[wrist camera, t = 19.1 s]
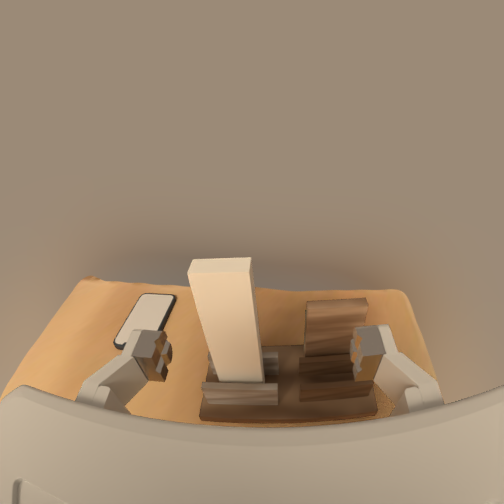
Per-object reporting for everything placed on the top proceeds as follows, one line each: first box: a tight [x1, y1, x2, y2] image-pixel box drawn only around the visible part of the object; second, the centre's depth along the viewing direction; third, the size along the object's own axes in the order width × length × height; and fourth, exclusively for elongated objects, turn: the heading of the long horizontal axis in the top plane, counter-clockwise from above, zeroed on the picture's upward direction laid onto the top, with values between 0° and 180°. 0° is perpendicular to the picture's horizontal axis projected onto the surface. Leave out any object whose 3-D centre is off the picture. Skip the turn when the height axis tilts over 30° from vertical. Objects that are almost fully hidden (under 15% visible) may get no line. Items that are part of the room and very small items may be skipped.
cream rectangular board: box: [187, 257, 265, 384], centre depth 35 cm, size 2×6×22 cm, turn 86°
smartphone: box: [113, 293, 176, 350], centre depth 56 cm, size 9×2×16 cm
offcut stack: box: [304, 298, 368, 357], centre depth 41 cm, size 3×8×12 cm, turn 86°
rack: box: [199, 345, 378, 423], centre depth 40 cm, size 14×25×6 cm, turn 86°
